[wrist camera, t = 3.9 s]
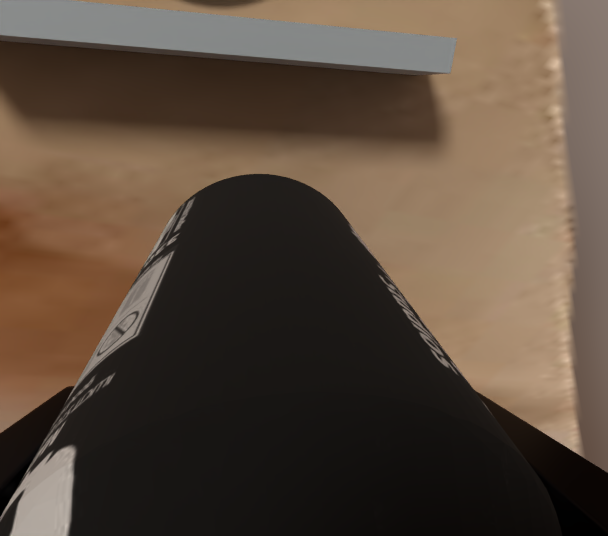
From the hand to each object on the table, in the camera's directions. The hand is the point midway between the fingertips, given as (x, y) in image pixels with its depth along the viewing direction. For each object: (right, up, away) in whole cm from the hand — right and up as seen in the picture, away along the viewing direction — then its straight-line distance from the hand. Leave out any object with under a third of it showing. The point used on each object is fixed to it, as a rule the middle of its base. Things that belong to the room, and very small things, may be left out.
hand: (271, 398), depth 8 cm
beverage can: (-1, +3, +6) cm, 7 cm away
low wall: (-3, +11, +7) cm, 13 cm away
